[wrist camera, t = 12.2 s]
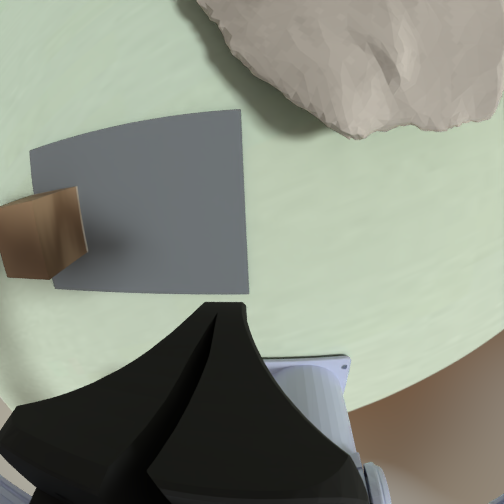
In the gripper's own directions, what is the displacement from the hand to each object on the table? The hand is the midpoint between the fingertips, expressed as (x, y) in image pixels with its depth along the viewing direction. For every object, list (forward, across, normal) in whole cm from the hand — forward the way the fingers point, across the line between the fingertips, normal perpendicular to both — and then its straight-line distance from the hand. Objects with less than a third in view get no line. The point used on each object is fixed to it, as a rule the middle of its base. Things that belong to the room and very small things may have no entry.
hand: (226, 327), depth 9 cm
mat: (+10, +8, -2) cm, 13 cm away
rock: (+10, -12, -19) cm, 25 cm away
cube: (+5, +14, -2) cm, 15 cm away
